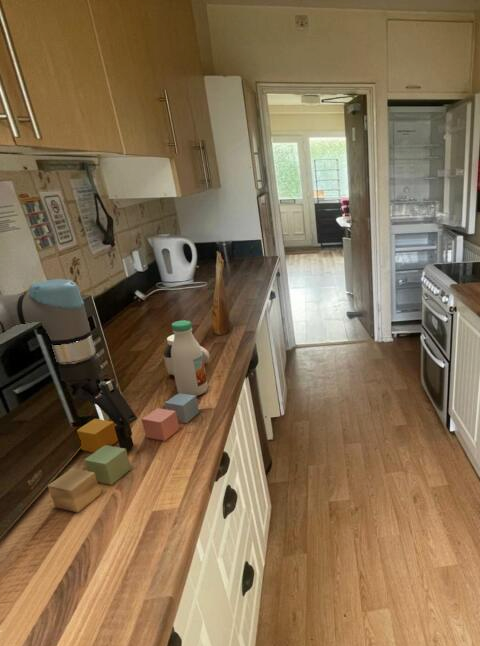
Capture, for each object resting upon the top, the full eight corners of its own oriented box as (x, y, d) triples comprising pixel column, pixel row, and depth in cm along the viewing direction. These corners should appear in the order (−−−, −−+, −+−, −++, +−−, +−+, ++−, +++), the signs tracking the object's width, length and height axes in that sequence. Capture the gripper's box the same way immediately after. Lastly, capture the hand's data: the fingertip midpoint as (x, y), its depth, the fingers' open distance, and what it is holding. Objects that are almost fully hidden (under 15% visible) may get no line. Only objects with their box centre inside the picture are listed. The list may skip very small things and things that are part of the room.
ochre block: (81, 450, 93) (75, 430, 91) (100, 437, 97) (94, 418, 95) (100, 453, 92) (94, 434, 90) (118, 440, 96) (113, 421, 94)
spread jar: (167, 381, 123) (159, 344, 118) (169, 365, 132) (162, 330, 128) (211, 375, 127) (206, 338, 122) (210, 360, 136) (205, 326, 132)
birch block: (55, 507, 77) (47, 485, 75) (79, 488, 82) (72, 467, 80) (78, 512, 76) (70, 490, 74) (101, 493, 81) (94, 472, 79)
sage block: (90, 480, 84) (83, 459, 82) (110, 464, 89) (105, 444, 87) (111, 484, 83) (105, 464, 81) (131, 468, 88) (125, 448, 86)
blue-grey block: (168, 420, 104) (164, 402, 102) (181, 410, 109) (178, 392, 107) (186, 423, 103) (182, 405, 101) (199, 412, 108) (196, 395, 106)
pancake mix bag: (234, 319, 173) (225, 249, 162) (232, 336, 156) (222, 259, 145) (216, 320, 171) (206, 249, 160) (212, 337, 154) (201, 260, 143)
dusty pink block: (145, 437, 97) (141, 419, 95) (161, 425, 102) (157, 407, 100) (164, 441, 96) (160, 422, 94) (179, 429, 101) (175, 410, 99)
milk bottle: (190, 400, 113) (177, 330, 105) (171, 393, 117) (158, 324, 109) (214, 388, 119) (203, 321, 111) (195, 382, 123) (184, 316, 115)
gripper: (141, 356, 87) (162, 443, 95) (42, 344, 92) (70, 427, 100) (112, 372, 80) (136, 463, 89) (7, 357, 85) (40, 445, 94)
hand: (101, 444), depth 95 cm, fingers open, 13 cm apart
